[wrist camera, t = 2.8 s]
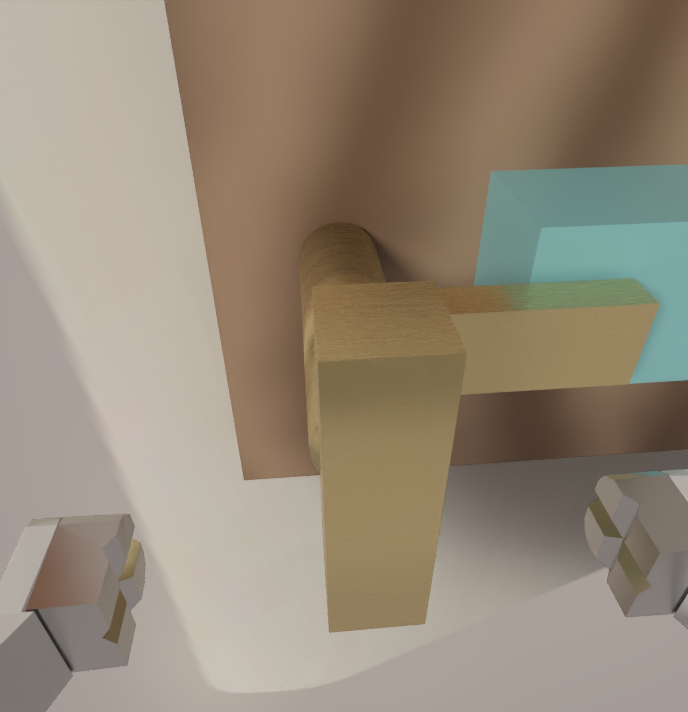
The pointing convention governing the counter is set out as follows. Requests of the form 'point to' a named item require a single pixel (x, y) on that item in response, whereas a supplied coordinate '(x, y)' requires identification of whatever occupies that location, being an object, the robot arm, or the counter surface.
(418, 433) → the t key
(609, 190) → the cover
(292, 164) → the base
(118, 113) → the counter surface
